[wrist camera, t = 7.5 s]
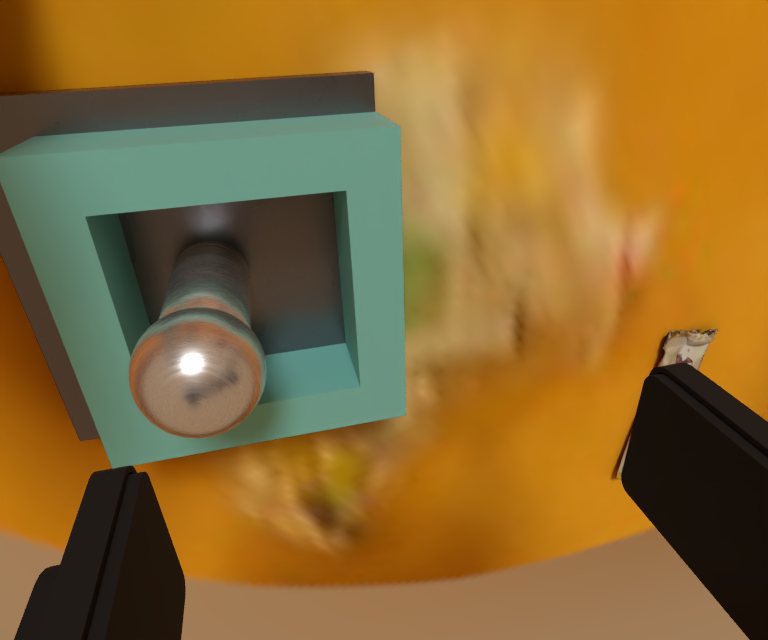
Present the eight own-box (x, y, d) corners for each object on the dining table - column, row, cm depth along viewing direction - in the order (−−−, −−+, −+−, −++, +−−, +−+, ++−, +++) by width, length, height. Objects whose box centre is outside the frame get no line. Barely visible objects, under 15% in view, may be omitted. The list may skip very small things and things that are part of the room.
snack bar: (657, 471, 31) (627, 490, 29) (634, 455, 32) (604, 472, 30) (722, 328, 26) (690, 342, 25) (693, 315, 27) (661, 327, 26)
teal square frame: (376, 111, 17) (400, 126, 14) (386, 369, 22) (406, 415, 19) (33, 136, 15) (-10, 158, 12) (129, 412, 20) (112, 469, 17)
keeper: (366, 71, 17) (460, 100, 10) (382, 374, 23) (448, 534, 16) (-48, 96, 15) (-326, 158, 8) (86, 424, 21) (2, 638, 13)
